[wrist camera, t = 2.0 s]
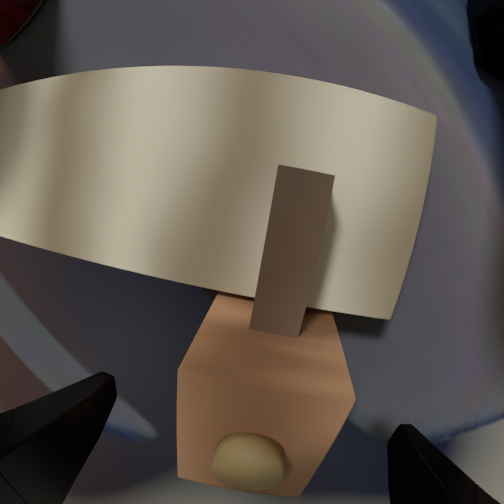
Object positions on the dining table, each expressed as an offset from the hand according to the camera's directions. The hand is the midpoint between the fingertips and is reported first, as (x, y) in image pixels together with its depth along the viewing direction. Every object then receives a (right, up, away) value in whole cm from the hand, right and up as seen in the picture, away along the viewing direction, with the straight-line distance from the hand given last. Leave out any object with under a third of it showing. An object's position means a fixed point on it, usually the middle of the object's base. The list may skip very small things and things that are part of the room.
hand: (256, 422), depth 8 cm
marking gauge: (+1, +3, +4) cm, 5 cm away
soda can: (-15, +20, +1) cm, 25 cm away
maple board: (-6, +9, +3) cm, 11 cm away
